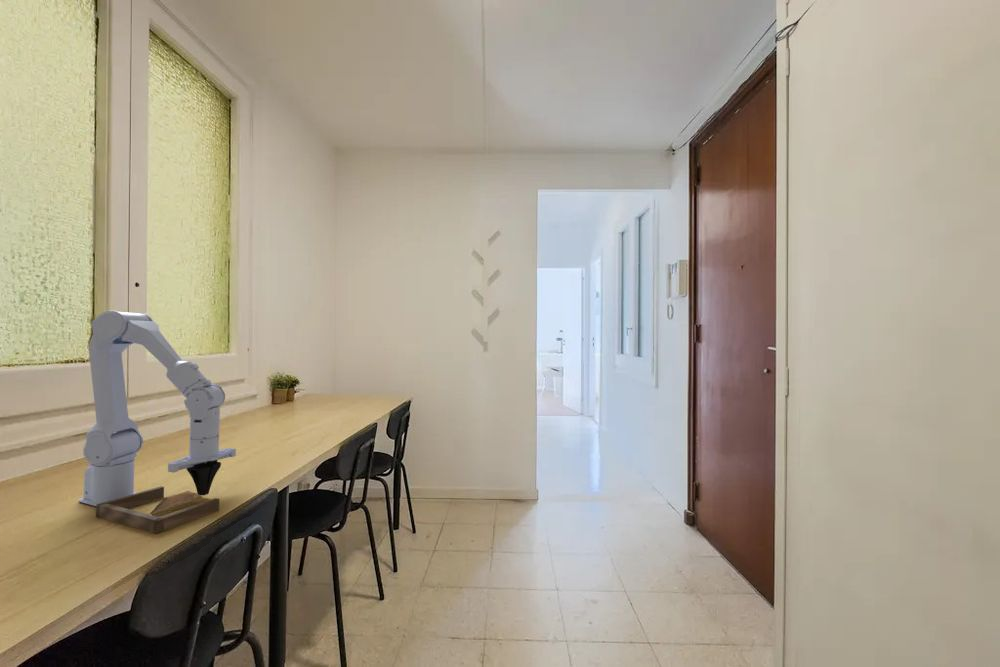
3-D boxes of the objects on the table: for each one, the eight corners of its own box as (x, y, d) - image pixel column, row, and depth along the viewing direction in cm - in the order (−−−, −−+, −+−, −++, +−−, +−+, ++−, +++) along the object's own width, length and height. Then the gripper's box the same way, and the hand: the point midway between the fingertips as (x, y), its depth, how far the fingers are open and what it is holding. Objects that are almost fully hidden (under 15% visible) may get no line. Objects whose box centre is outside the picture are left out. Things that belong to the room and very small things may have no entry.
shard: (149, 520, 88) (150, 511, 88) (130, 513, 91) (130, 505, 91) (204, 502, 97) (204, 494, 98) (185, 497, 101) (185, 489, 101)
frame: (96, 516, 88) (96, 504, 88) (160, 496, 100) (160, 486, 100) (156, 533, 81) (157, 520, 81) (219, 510, 92) (219, 499, 92)
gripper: (183, 445, 91) (181, 508, 91) (244, 432, 105) (243, 486, 104) (162, 442, 94) (160, 503, 93) (225, 429, 107) (224, 482, 107)
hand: (203, 494), depth 99 cm, fingers closed
